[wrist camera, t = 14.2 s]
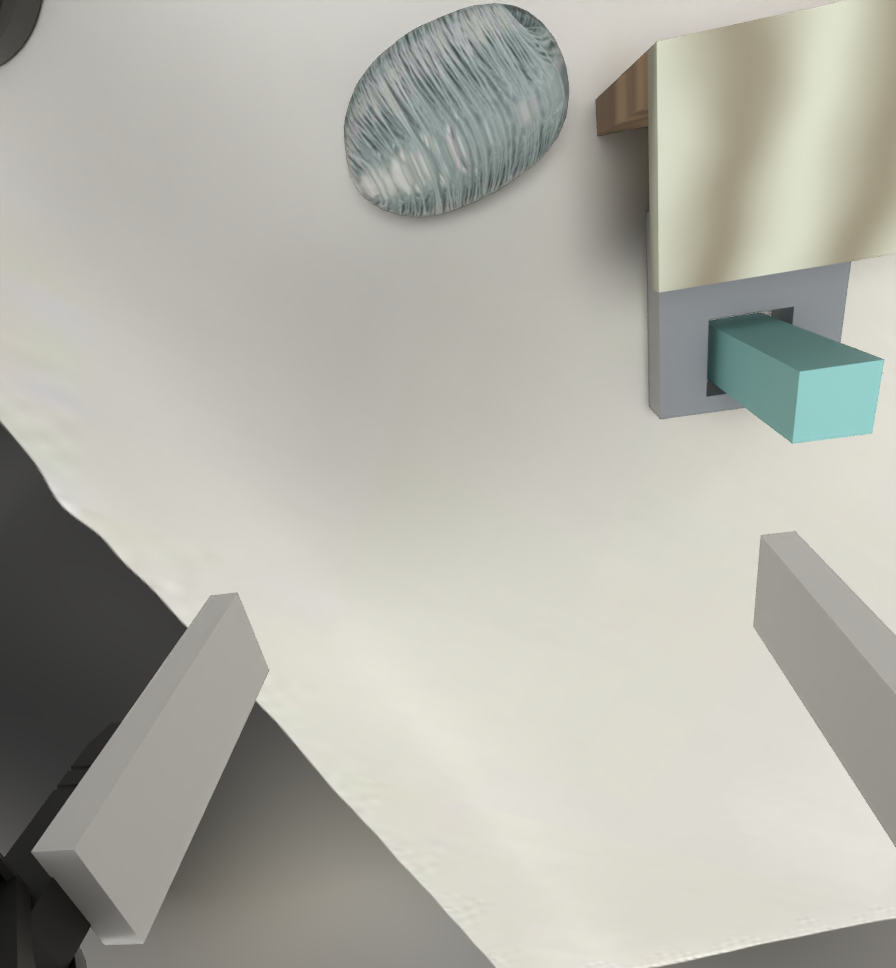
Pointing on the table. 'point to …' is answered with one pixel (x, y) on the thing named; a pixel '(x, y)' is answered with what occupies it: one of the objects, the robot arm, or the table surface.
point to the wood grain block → (766, 143)
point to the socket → (686, 313)
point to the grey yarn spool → (455, 110)
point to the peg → (794, 377)
